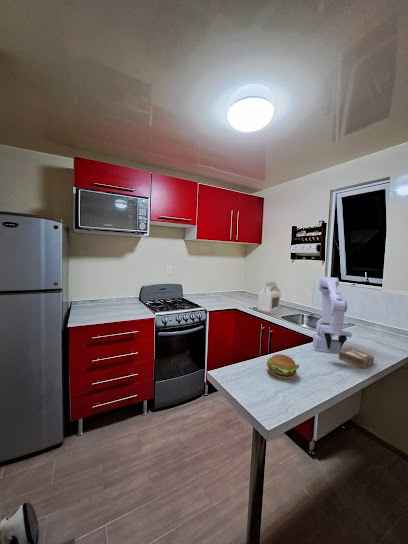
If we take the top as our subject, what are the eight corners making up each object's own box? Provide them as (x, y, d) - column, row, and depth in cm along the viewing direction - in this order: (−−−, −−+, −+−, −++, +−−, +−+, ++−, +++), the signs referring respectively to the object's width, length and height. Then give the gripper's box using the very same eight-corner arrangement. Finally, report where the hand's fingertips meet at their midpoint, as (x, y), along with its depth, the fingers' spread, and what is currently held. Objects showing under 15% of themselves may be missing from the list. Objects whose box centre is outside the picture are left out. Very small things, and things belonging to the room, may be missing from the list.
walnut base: (363, 368, 115) (364, 361, 114) (338, 358, 125) (339, 351, 124) (373, 363, 121) (374, 356, 121) (349, 354, 131) (349, 347, 131)
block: (330, 353, 117) (331, 341, 116) (327, 349, 121) (328, 338, 121) (339, 354, 116) (341, 343, 115) (336, 350, 120) (337, 339, 120)
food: (260, 372, 105) (261, 355, 104) (274, 363, 115) (276, 348, 114) (288, 385, 95) (290, 367, 95) (302, 374, 105) (303, 358, 105)
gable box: (269, 312, 220) (271, 284, 218) (257, 309, 229) (259, 282, 227) (279, 309, 236) (282, 282, 234) (267, 306, 245) (270, 281, 243)
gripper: (323, 323, 115) (320, 349, 116) (355, 327, 112) (352, 353, 113) (319, 319, 122) (317, 344, 123) (349, 323, 119) (346, 348, 120)
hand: (333, 348), depth 118 cm, fingers closed on block, 4 cm apart
